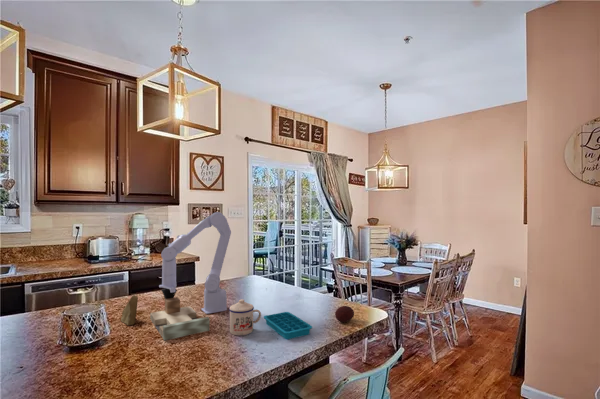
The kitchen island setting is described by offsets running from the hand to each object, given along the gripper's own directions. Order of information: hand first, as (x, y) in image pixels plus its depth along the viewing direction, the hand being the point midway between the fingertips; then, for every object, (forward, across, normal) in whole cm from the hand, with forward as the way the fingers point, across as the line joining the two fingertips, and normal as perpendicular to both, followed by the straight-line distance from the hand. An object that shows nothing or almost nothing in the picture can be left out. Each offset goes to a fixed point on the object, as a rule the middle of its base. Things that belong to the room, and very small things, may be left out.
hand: (169, 305), depth 140 cm
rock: (+4, +1, -16) cm, 16 cm away
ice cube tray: (+4, +44, +33) cm, 55 cm away
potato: (+4, +51, +56) cm, 76 cm away
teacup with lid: (+4, +37, +19) cm, 42 cm away
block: (+1, +6, 0) cm, 6 cm away
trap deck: (+3, +16, 0) cm, 16 cm away
